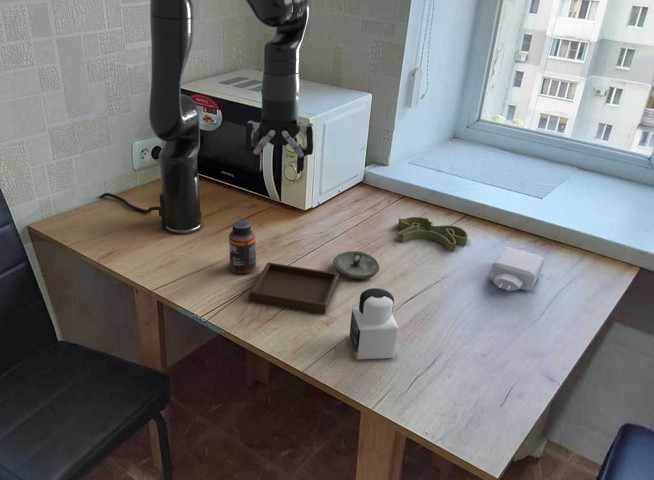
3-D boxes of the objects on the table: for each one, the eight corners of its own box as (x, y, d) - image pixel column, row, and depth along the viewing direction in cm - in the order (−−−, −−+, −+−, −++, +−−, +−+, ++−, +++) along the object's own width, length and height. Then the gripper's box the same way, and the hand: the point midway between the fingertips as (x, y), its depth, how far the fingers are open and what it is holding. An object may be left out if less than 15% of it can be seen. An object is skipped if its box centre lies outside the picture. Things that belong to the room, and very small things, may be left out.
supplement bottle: (257, 262, 143) (257, 218, 137) (254, 275, 138) (253, 230, 132) (232, 261, 144) (230, 217, 138) (228, 274, 138) (226, 229, 133)
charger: (479, 291, 133) (499, 263, 144) (522, 305, 129) (540, 275, 139) (483, 273, 131) (503, 245, 141) (527, 285, 126) (545, 256, 137)
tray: (249, 301, 129) (249, 292, 128) (267, 270, 140) (267, 262, 139) (324, 314, 125) (325, 305, 124) (338, 282, 136) (338, 273, 135)
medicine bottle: (348, 337, 118) (353, 284, 112) (385, 335, 119) (392, 283, 113) (356, 360, 112) (362, 306, 106) (394, 358, 113) (402, 304, 107)
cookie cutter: (389, 239, 154) (390, 232, 153) (400, 220, 163) (401, 213, 162) (462, 253, 148) (464, 246, 147) (469, 233, 157) (471, 226, 156)
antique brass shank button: (350, 261, 147) (346, 242, 145) (387, 263, 141) (384, 244, 139) (327, 281, 140) (323, 261, 138) (366, 285, 134) (362, 264, 132)
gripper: (317, 91, 125) (313, 167, 134) (248, 88, 127) (248, 163, 135) (314, 101, 119) (310, 180, 127) (242, 97, 120) (243, 175, 129)
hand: (278, 171), depth 131 cm, fingers open, 8 cm apart
